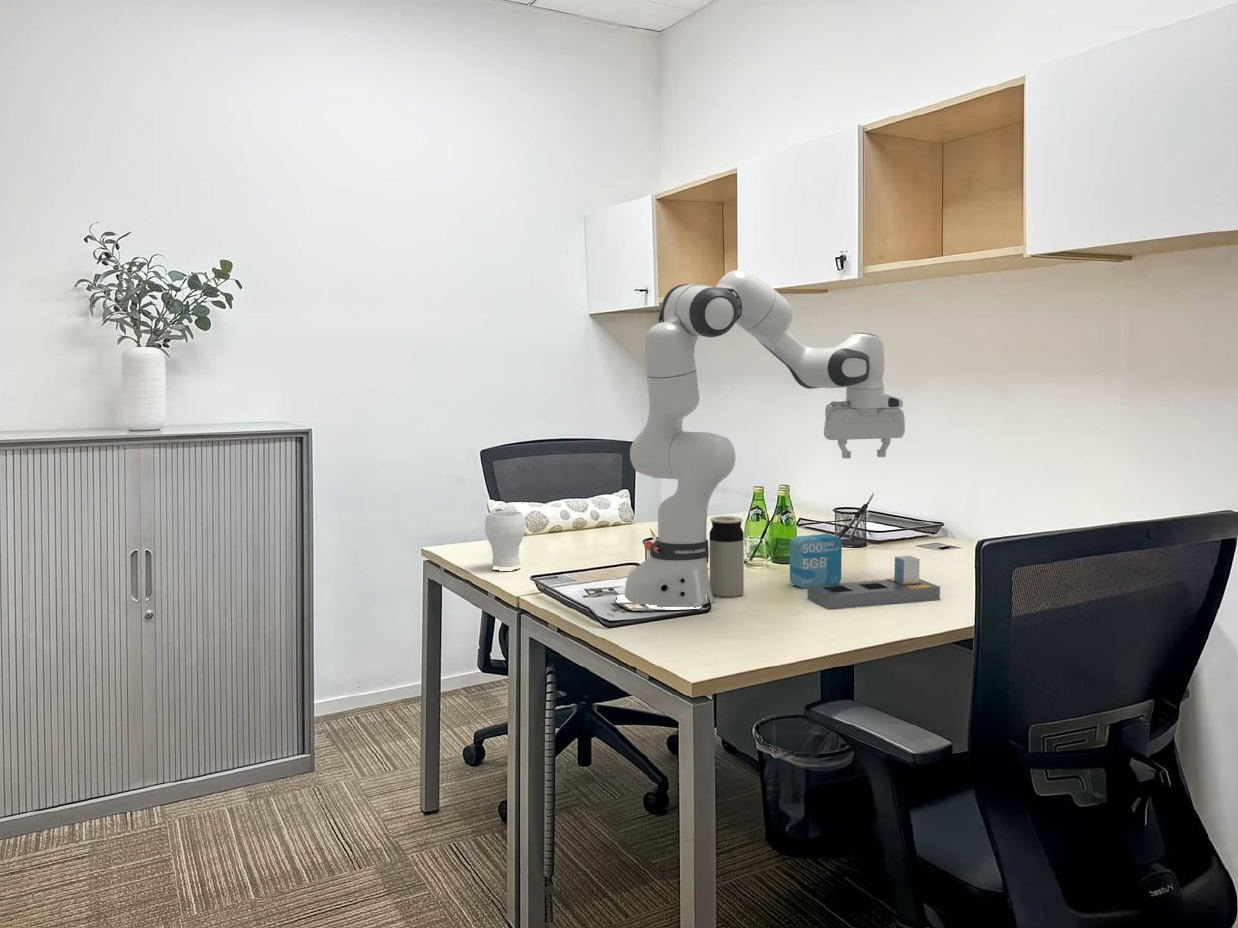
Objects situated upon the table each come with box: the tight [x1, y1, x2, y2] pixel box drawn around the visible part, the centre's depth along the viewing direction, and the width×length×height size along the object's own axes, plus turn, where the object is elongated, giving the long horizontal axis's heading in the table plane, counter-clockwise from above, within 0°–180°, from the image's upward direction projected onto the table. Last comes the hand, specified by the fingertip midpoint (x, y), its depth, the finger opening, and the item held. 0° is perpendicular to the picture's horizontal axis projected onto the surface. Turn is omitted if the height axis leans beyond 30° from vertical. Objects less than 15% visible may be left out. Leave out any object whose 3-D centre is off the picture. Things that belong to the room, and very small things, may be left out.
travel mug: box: [709, 515, 745, 598], centre depth 223 cm, size 8×8×18 cm
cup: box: [484, 510, 526, 567], centre depth 254 cm, size 11×11×15 cm
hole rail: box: [807, 577, 941, 610], centre depth 217 cm, size 28×10×3 cm, turn 105°
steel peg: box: [893, 555, 921, 587], centre depth 219 cm, size 4×4×9 cm
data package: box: [789, 533, 843, 589], centre depth 231 cm, size 12×4×12 cm, turn 110°
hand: (863, 457), depth 231 cm, fingers open, 8 cm apart
